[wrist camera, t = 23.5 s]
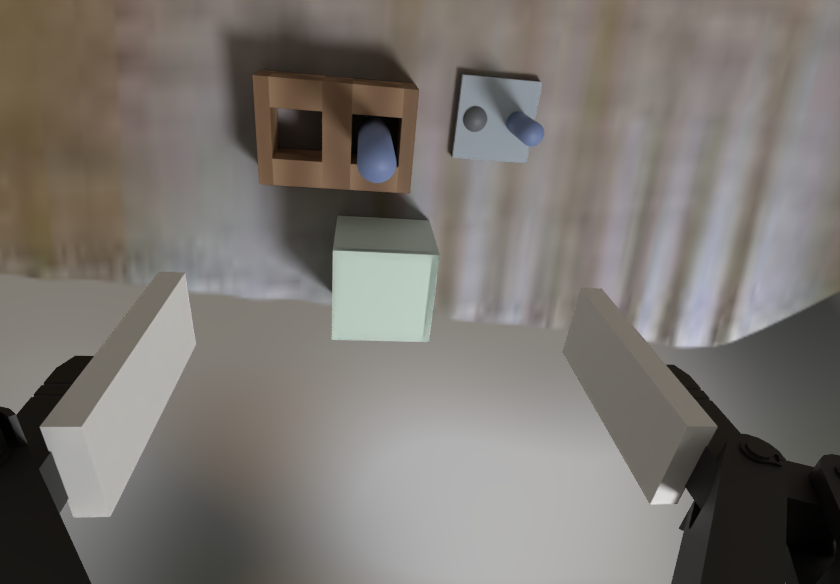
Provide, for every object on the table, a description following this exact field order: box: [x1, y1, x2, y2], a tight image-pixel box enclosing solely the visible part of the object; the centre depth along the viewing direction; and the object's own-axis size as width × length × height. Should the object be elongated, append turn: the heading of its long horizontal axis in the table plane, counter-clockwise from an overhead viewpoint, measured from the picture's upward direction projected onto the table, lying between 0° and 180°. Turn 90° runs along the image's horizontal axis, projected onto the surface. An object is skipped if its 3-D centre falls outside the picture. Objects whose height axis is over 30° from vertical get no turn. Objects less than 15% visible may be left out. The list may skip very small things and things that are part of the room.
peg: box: [357, 115, 396, 183], centre depth 37 cm, size 3×3×10 cm
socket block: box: [252, 70, 419, 193], centre depth 40 cm, size 12×8×4 cm, turn 84°
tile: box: [451, 74, 544, 163], centre depth 40 cm, size 7×7×5 cm
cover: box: [332, 215, 440, 342], centre depth 44 cm, size 8×8×8 cm
